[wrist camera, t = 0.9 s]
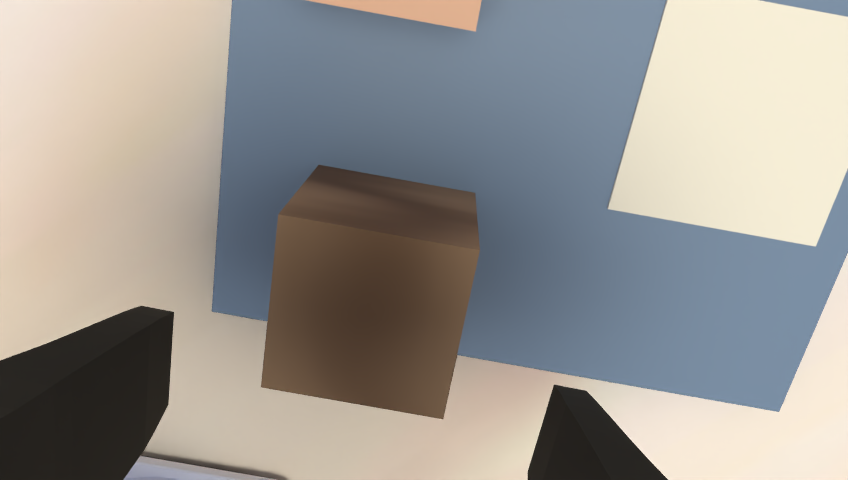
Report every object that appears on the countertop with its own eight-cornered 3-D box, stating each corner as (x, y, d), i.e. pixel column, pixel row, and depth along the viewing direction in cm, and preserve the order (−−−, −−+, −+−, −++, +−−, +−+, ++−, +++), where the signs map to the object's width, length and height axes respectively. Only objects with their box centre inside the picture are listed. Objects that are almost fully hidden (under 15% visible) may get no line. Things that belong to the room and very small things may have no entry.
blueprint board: (220, 300, 21) (210, 312, 20) (255, -204, 16) (244, -214, 16) (767, 397, 22) (780, 413, 21) (964, -70, 17) (991, -74, 16)
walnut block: (301, 305, 20) (261, 387, 16) (318, 164, 19) (278, 214, 15) (446, 331, 20) (443, 419, 16) (475, 192, 19) (479, 250, 15)
